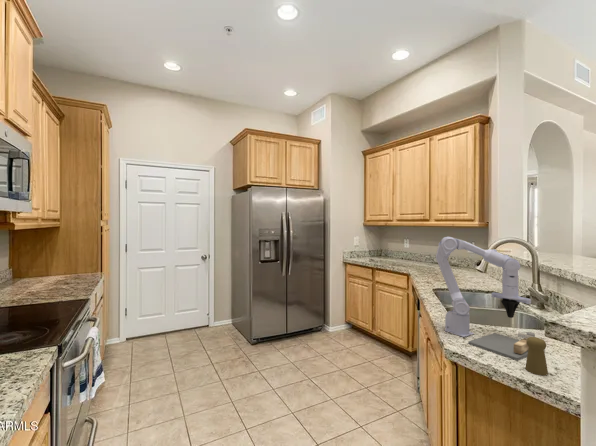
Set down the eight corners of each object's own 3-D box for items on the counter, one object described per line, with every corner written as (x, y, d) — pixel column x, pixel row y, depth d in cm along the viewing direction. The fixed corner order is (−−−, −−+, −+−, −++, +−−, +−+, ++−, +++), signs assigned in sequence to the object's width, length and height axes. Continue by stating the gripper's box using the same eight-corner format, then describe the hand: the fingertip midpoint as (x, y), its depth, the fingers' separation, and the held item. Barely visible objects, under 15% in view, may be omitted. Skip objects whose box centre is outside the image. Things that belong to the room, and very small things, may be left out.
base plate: (468, 343, 124) (468, 329, 124) (494, 335, 134) (494, 321, 134) (517, 360, 108) (517, 344, 108) (543, 349, 118) (543, 334, 118)
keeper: (518, 346, 118) (518, 333, 118) (520, 345, 119) (520, 332, 119) (533, 351, 114) (533, 337, 114) (535, 350, 115) (535, 336, 115)
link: (526, 341, 122) (526, 334, 122) (539, 345, 119) (539, 337, 119) (510, 351, 113) (510, 343, 113) (524, 355, 110) (524, 347, 110)
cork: (537, 366, 104) (537, 334, 104) (553, 375, 98) (552, 341, 98) (520, 367, 104) (520, 335, 104) (535, 375, 97) (534, 341, 98)
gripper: (534, 287, 125) (534, 320, 125) (497, 281, 137) (497, 311, 137) (526, 289, 121) (526, 323, 121) (488, 283, 134) (489, 313, 134)
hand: (510, 317), depth 129 cm, fingers closed
